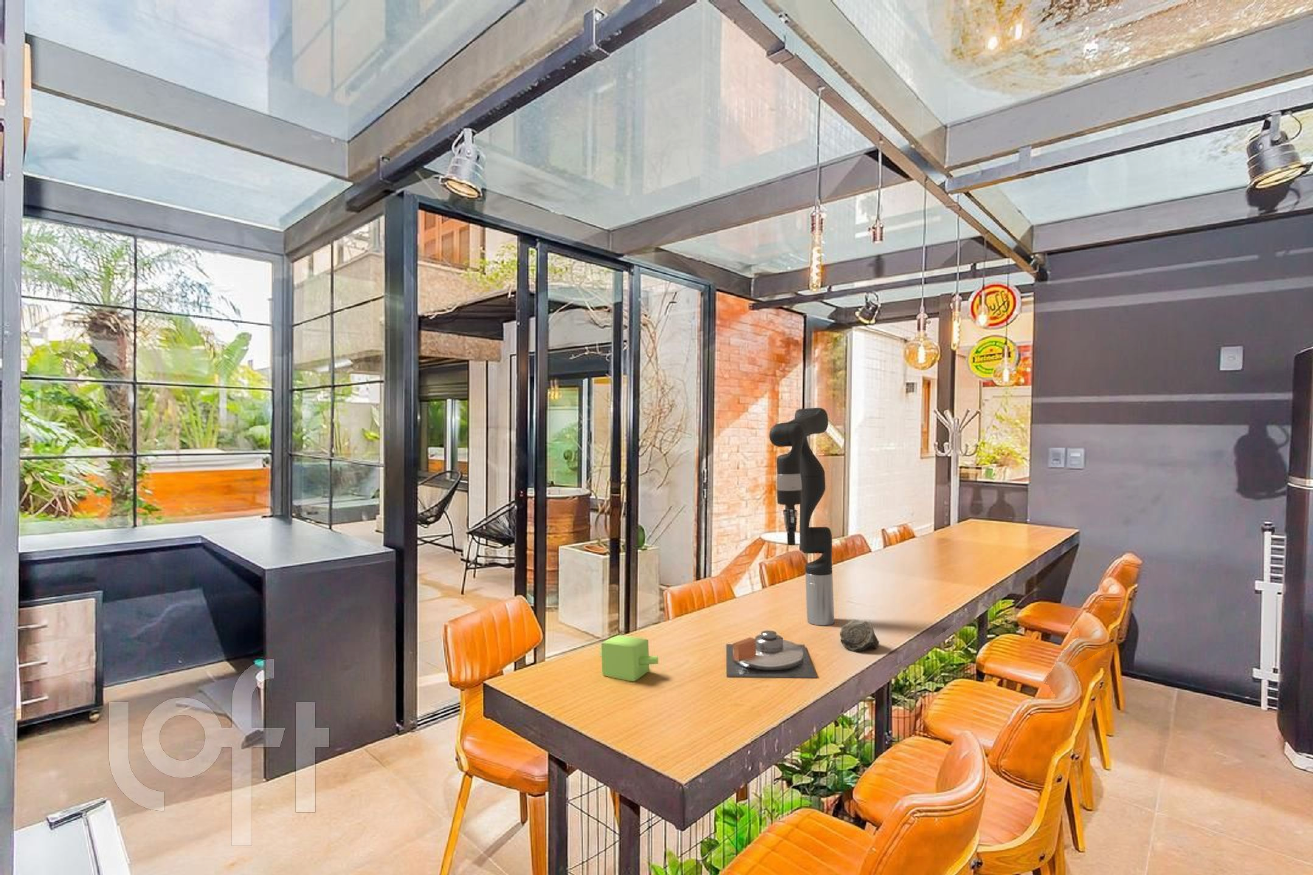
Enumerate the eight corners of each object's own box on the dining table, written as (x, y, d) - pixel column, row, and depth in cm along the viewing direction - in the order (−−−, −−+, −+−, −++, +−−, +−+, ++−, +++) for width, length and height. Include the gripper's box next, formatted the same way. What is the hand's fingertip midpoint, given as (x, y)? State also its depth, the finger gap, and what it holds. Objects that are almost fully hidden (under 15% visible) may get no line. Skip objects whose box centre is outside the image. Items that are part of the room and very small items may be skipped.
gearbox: (666, 672, 165) (665, 638, 165) (648, 685, 157) (647, 649, 157) (614, 662, 175) (613, 630, 175) (594, 674, 166) (593, 640, 166)
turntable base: (726, 646, 184) (726, 644, 184) (804, 647, 182) (804, 644, 182) (726, 676, 161) (726, 673, 161) (816, 677, 158) (816, 674, 158)
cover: (749, 648, 172) (749, 632, 172) (768, 642, 177) (767, 626, 177) (770, 655, 166) (769, 639, 166) (789, 648, 171) (788, 632, 171)
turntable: (711, 659, 171) (710, 635, 171) (764, 640, 185) (763, 619, 185) (764, 678, 155) (763, 653, 155) (817, 657, 170) (816, 633, 170)
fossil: (835, 648, 178) (837, 614, 182) (843, 654, 185) (845, 621, 189) (873, 652, 172) (874, 618, 177) (880, 658, 179) (880, 625, 183)
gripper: (804, 489, 174) (806, 548, 173) (798, 486, 187) (801, 541, 187) (778, 490, 175) (780, 548, 174) (775, 487, 188) (777, 541, 187)
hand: (791, 544), depth 180 cm, fingers closed
